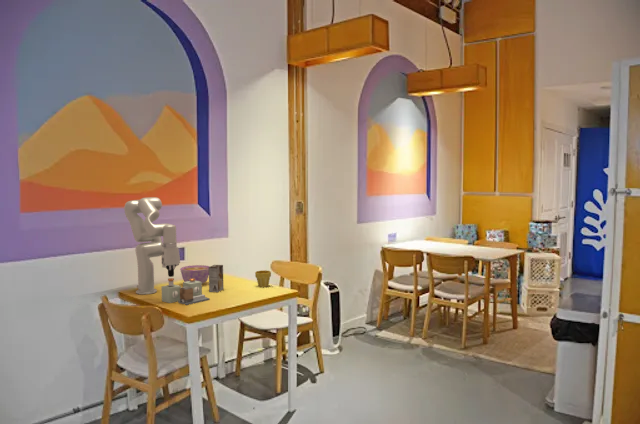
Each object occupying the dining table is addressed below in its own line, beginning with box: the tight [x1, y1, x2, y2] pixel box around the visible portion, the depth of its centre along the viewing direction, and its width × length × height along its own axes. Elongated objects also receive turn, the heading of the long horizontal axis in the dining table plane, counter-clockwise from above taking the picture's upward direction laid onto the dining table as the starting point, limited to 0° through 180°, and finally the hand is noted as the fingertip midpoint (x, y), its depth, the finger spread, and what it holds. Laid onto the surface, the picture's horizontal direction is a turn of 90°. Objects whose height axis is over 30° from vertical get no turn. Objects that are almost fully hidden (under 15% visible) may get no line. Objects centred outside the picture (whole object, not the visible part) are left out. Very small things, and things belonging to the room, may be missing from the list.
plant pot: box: [254, 269, 272, 288], centre depth 348 cm, size 10×10×10 cm
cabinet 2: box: [182, 281, 203, 297], centre depth 321 cm, size 8×8×9 cm
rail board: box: [177, 294, 211, 306], centre depth 309 cm, size 9×16×2 cm, turn 139°
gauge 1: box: [167, 277, 175, 287], centre depth 309 cm, size 3×3×7 cm
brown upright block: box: [180, 286, 193, 302], centre depth 305 cm, size 6×5×8 cm
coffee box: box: [208, 264, 224, 293], centre depth 336 cm, size 9×6×16 cm
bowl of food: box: [179, 264, 210, 285], centre depth 354 cm, size 20×20×12 cm
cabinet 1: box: [160, 284, 182, 304], centre depth 310 cm, size 8×8×9 cm
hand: (171, 276), depth 309 cm, fingers closed
